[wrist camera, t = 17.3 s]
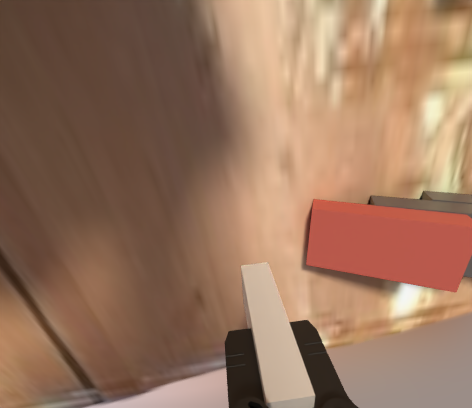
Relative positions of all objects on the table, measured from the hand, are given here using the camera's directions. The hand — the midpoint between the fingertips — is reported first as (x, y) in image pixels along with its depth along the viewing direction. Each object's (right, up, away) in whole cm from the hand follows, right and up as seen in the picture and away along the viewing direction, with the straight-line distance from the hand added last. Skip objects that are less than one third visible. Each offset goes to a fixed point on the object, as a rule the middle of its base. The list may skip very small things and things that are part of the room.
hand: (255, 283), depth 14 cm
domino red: (+5, +2, +6) cm, 8 cm away
